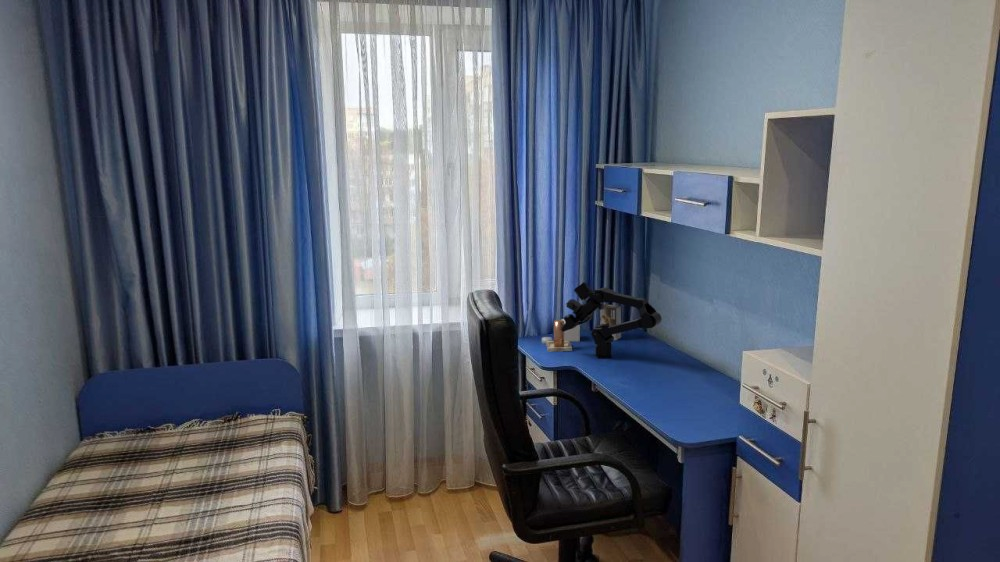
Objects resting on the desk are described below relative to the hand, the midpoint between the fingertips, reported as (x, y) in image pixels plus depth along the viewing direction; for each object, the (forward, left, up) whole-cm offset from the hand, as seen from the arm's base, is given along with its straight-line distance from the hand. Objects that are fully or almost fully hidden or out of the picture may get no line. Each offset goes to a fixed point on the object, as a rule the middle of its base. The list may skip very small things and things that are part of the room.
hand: (566, 328), depth 313 cm
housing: (-4, -17, -10) cm, 20 cm away
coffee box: (-24, -19, -10) cm, 32 cm away
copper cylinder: (+3, -2, -9) cm, 10 cm away
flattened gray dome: (+8, -11, -10) cm, 17 cm away
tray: (+3, -2, -10) cm, 11 cm away
